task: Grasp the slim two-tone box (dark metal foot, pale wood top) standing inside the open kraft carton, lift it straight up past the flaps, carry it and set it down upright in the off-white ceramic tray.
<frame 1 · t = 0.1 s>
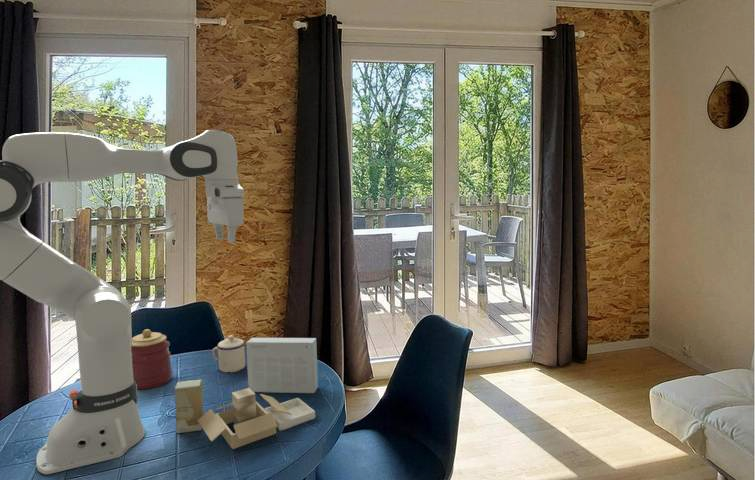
hand: (225, 240, 124), 48 cm above the table, tool pointing down, fingers open, 8 cm apart
tray: (289, 416, 121), on the table
slim box: (245, 430, 115), resting in carton
canister: (150, 382, 146), on the table
skincare box 2: (283, 389, 138), on the table
teacup with lid: (228, 368, 156), on the table
skincare box: (191, 428, 116), on the table
carton: (245, 429, 115), on the table
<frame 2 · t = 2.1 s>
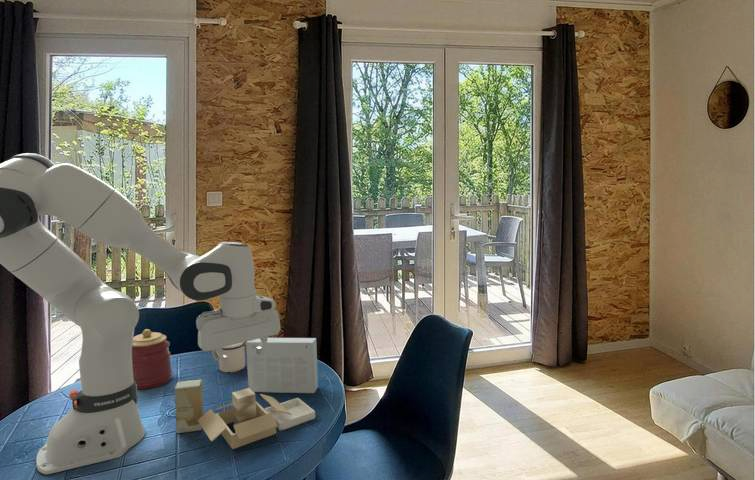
hand: (242, 358, 113), 19 cm above the table, tool pointing down, fingers open, 8 cm apart
nothing on the table moved.
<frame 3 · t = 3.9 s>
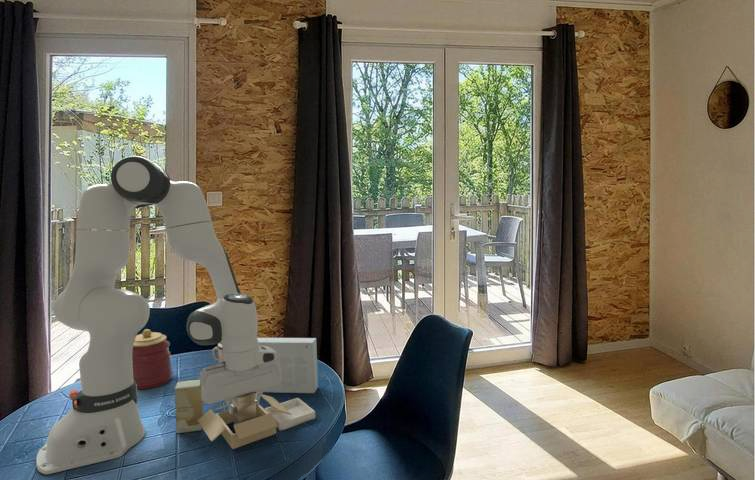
hand: (244, 409, 114), 6 cm above the table, tool pointing down, fingers closed on slim box, 4 cm apart
slim box: (245, 429, 115), resting in carton, touching gripper
everything else where it was.
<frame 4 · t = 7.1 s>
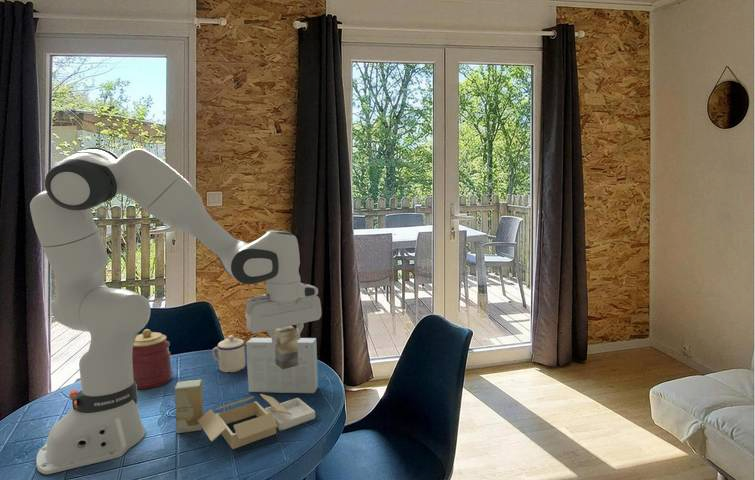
hand: (286, 342, 118), 21 cm above the table, tool pointing down, fingers closed on slim box, 4 cm apart
slim box: (286, 364, 119), point 15 cm above the table, touching gripper
everything else where it was.
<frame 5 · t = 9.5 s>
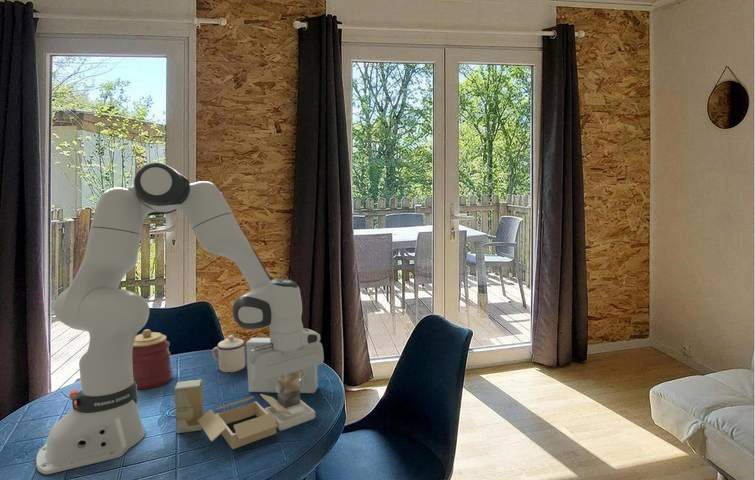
hand: (289, 388, 121), 8 cm above the table, tool pointing down, fingers closed on slim box, 5 cm apart
slim box: (288, 402, 122), point 4 cm above the table, touching carton, gripper
everything else where it was.
when the fingers open (7 cm above the table, at t = 10.1 s): slim box stays where it is, resting on carton.
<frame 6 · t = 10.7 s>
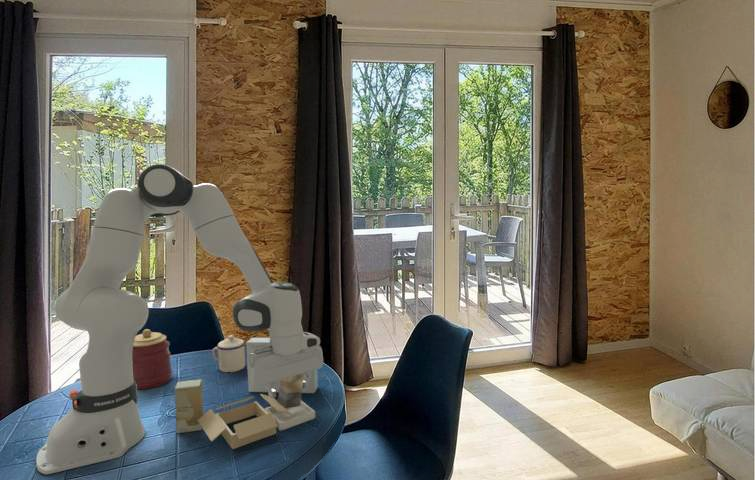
hand: (288, 391, 120), 7 cm above the table, tool pointing down, fingers open, 8 cm apart
slim box: (288, 403, 122), point 3 cm above the table, tilted 10°, touching carton, gripper
everything else where it was.
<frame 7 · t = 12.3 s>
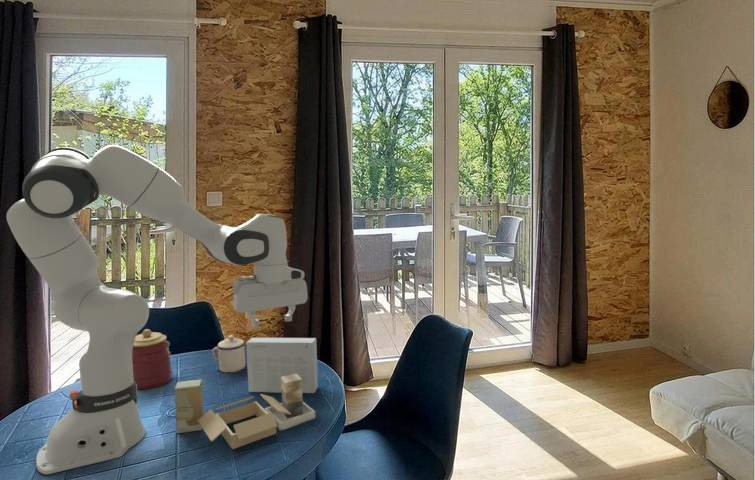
hand: (272, 323, 121), 25 cm above the table, tool pointing down, fingers open, 8 cm apart
slim box: (292, 412, 122), resting on tray
everything else where it was.
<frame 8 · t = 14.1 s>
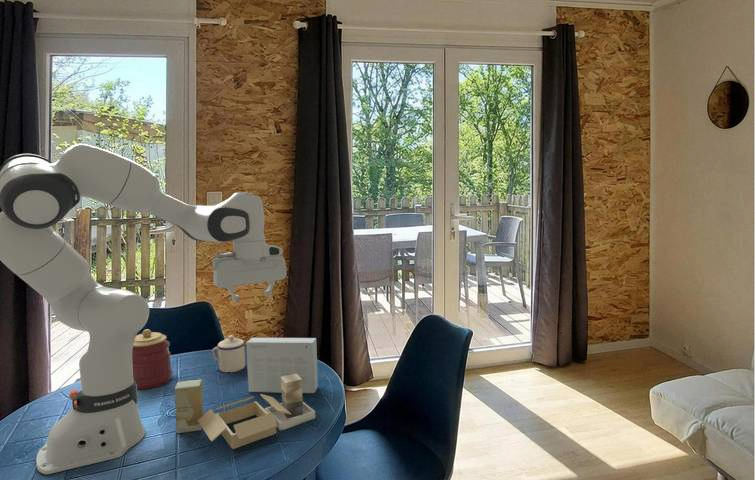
hand: (252, 298, 126), 31 cm above the table, tool pointing down, fingers open, 8 cm apart
nothing on the table moved.
at the end: slim box inside the target area on the tray (1.3 cm from its centre), point 0.5 cm above the tray's base; slim box tilted 0°; the gripper is holding nothing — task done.
